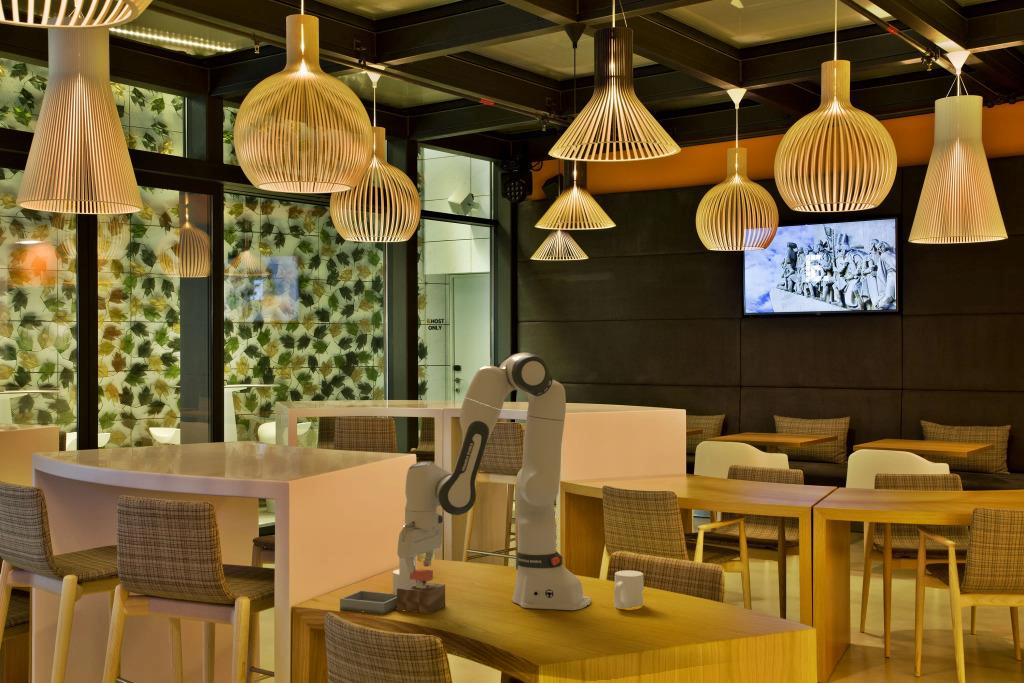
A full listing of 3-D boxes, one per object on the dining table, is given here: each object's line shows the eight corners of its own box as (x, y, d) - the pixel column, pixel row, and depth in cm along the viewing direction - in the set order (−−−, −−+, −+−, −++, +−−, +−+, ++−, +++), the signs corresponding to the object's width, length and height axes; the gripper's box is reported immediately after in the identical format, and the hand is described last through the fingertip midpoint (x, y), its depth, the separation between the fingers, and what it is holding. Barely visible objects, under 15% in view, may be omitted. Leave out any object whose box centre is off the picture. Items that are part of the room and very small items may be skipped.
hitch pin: (433, 607, 295) (433, 570, 296) (428, 610, 293) (428, 572, 293) (414, 605, 298) (414, 568, 298) (409, 608, 295) (409, 570, 295)
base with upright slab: (418, 595, 310) (418, 554, 310) (389, 594, 311) (389, 553, 311) (426, 588, 319) (426, 549, 319) (397, 587, 320) (397, 548, 320)
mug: (624, 568, 303) (649, 572, 298) (624, 601, 303) (649, 605, 298) (604, 576, 293) (629, 579, 289) (604, 609, 293) (629, 613, 289)
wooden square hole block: (445, 605, 298) (445, 584, 298) (428, 613, 289) (428, 591, 289) (414, 602, 302) (414, 581, 302) (396, 610, 293) (396, 588, 293)
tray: (403, 605, 298) (403, 594, 298) (383, 614, 288) (383, 603, 288) (360, 600, 304) (360, 590, 304) (340, 609, 293) (340, 598, 293)
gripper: (412, 526, 285) (411, 577, 284) (446, 515, 303) (445, 563, 303) (392, 524, 287) (391, 575, 287) (427, 514, 306) (426, 561, 306)
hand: (419, 569), depth 295 cm, fingers open, 8 cm apart
